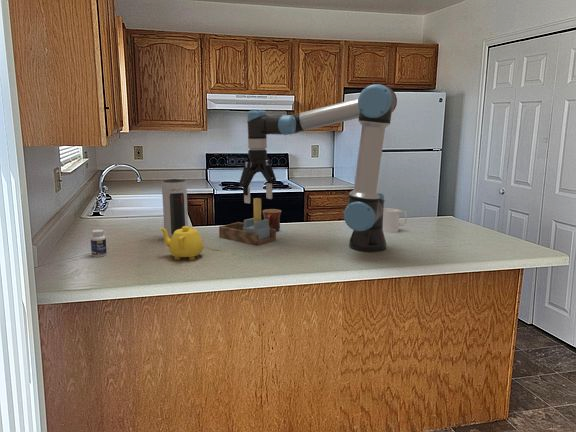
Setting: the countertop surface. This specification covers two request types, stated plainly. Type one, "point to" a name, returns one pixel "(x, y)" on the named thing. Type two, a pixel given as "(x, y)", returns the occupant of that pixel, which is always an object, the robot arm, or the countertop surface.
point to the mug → (273, 218)
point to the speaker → (174, 205)
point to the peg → (257, 209)
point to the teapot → (184, 242)
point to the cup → (392, 220)
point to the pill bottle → (98, 243)
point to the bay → (244, 234)
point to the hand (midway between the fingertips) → (258, 200)
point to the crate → (257, 227)
